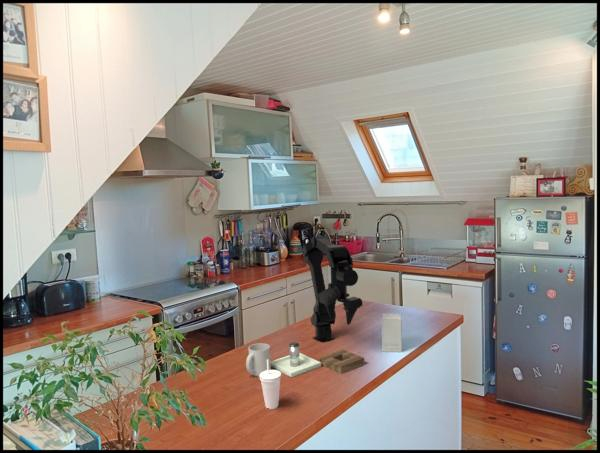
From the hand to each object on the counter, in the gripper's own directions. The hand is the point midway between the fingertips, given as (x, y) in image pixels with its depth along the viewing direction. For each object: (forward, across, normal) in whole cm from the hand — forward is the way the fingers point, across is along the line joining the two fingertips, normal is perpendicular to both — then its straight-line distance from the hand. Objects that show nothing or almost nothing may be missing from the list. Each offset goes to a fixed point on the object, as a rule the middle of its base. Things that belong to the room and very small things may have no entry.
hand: (340, 321), depth 171 cm
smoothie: (+12, +16, -42) cm, 47 cm away
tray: (+12, -2, -20) cm, 23 cm away
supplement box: (+12, +10, +17) cm, 23 cm away
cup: (+12, -6, -33) cm, 36 cm away
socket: (+12, +8, -7) cm, 16 cm away
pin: (+12, -2, -20) cm, 23 cm away
